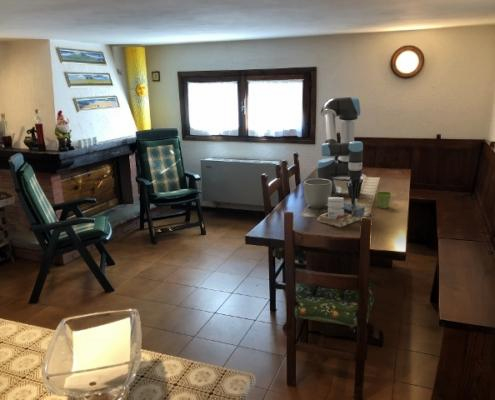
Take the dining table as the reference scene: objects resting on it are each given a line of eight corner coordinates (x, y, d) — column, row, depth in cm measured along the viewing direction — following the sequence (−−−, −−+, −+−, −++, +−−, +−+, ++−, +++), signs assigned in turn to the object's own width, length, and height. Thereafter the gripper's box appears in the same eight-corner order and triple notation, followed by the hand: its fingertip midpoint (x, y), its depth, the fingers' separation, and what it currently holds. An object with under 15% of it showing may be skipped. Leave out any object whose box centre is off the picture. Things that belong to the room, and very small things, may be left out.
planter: (314, 201, 267) (314, 177, 263) (337, 205, 255) (337, 180, 251) (298, 207, 256) (297, 182, 251) (320, 212, 244) (321, 186, 239)
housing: (356, 217, 228) (356, 210, 226) (334, 211, 239) (334, 204, 238) (364, 214, 232) (364, 207, 231) (342, 209, 243) (342, 202, 242)
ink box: (343, 217, 230) (344, 196, 226) (343, 220, 225) (344, 199, 222) (328, 216, 232) (328, 196, 228) (327, 219, 227) (327, 198, 224)
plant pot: (372, 205, 253) (373, 191, 251) (387, 204, 254) (388, 190, 251) (378, 209, 244) (379, 195, 242) (393, 208, 245) (394, 194, 243)
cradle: (340, 227, 218) (340, 219, 217) (316, 220, 230) (316, 213, 229) (370, 215, 236) (370, 207, 234) (347, 209, 247) (347, 202, 246)
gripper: (354, 172, 225) (352, 213, 231) (367, 168, 233) (366, 207, 239) (342, 170, 230) (341, 210, 237) (356, 166, 238) (355, 205, 245)
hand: (354, 209), depth 238 cm, fingers closed
